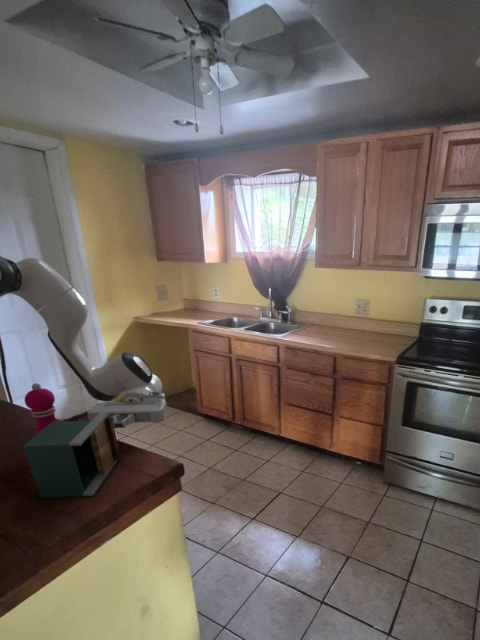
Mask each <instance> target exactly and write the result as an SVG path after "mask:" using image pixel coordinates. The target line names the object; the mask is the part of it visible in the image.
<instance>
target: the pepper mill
mask: <svg viewBox="0 0 480 640" xmlns="http://www.w3.org/2000/svg"><path fill="white" fill-rule="evenodd" d="M55 401H56V398H55V395H54V393H53V392H52V390H49V389H48V388H42V386H41V384H39V382H35V383H32V385H31V390H29V391H28V392H27V393H26V394H25V396H24V404H25V405H26V407H27V408H28V409H30V413H31V417H33V418H34V419H35V421H36V432H35V435H34V437H35V436H36V435H37V434H38V433H39V432H41V431H42V430H43V429H44V428H45V427H47V426H48V425H49V424H50V423H51V422H58V421H57V418H56V411H57V410H56V407H55V405H54V404H55Z"/></svg>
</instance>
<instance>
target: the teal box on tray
mask: <svg viewBox="0 0 480 640" xmlns="http://www.w3.org/2000/svg"><path fill="white" fill-rule="evenodd" d="M108 415H109V412H102V413H99V414H98V415H97V416H96V417H95V418H94V419H93V420H92V421H89V420H65V421H63V420H62V421H57V422H51V423H50V424H49V425H48V426H47V427H45V428H44V429H43V430H42V431H41V432H39V433H38V434H37V435H36V434H35V435H36V436H35V435H34V436H33V437H32V438H31V439H29V440H28V441H27V442H26V443H25V444H24V445H23V446H22V447H23V449H24V452H25V454H26V455H25V457H26V459H27V461H28V465H29V468H30V470H31V474H32V478H33V479H34V482H35V485H36V489H37V491H38V494H39V498H40V499H44V498H45V499H46V498H47V499H48V498H70V497H72V498H73V497H74V498H75V497H94V495H95V494H96V493H97V491H98V490H99V488H100V487H101V486H102V483H104V481H105V480H106V478H107V477H108V475H110V472H111V471H112V470H113V468H114V467H115V465H116V464H117V463H118V462H119V459H118V460H113V462H112V463H111V464H110V466H109V467H108V469H107V470H106V471H105V473H99V472H98V468H97V464H96V460H95V456H94V452H93V448H92V444H91V440H90V435H91V434H92V433H93V431H94V430H95V429H96V428H97V427H98V426H99V425H100V424H101V423H102V422H103V421H104V420H105V418H106V417H107V416H108Z"/></svg>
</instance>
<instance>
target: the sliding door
mask: <svg viewBox="0 0 480 640" xmlns="http://www.w3.org/2000/svg"><path fill="white" fill-rule="evenodd" d="M117 439H118V438H117V435H116V429H115V428H114V425H113V420H112V417H106V418H105V420H104V421H103V422H102V423H101V424H100V425H99V426H98V427H97V428H96V429H95V430H94V431H93V433H92V434H91V435H90V440H91V444H92V448H93V452H94V456H95V460H96V464H97V468H98V472H99V473H105V471H106V470H107V469H108V467H109V466H110V464H111V463H112V462H113V460H118V461H119V460H120V458H121V453H120V449H119V445H118V440H117Z"/></svg>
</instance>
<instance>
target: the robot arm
mask: <svg viewBox="0 0 480 640" xmlns="http://www.w3.org/2000/svg"><path fill="white" fill-rule="evenodd" d="M7 295H14V296H17V297H20V298H21V299H23V300H24V301H25V302H26V303H28V304H29V306H30V307H31V308H33V309H34V310H35V311H36V312H37V314H39V315H40V316H41V318H42V319H43V321H44V322H45V324H46V327H47V329H48V330H47V338H48V340H49V342H50V343H51V345H52V346H53V348H55V350H56V351H57V353H58V355H60V356H61V358H62V359H63V360H64V362H65V363H66V364H67V365H68V366H69V368H70V369H71V371H73V373H74V374H75V375H76V377H77V378H78V379H79V380H80V382H81V383H82V385H83V387H84V388H85V390H86V392H87V393H88V394H89V395H90V397H91V398H93V399H95V400H97V401H101V402H99V403H97V404H95V405H94V406H92V407H90V408H89V409H88V410H87V412H86V413H87V420H88V421H92V420H93V419H94V418H95V417H96V416H97V415H98V414H99V413H102V412H109V415H108V416H107V417H112V420H113V425H114V429H126V428H127V426H129V425H132V424H137V423H161V422H164V421H165V420H166V418H167V416H168V405H167V400H166V396H165V393H163V382H162V381H161V379H160V378H159V377H158V376H157V375H155V374H154V373H153V372H152V369H151V368H150V366H149V364H148V363H147V362H146V361H145V359H144V358H142V357H141V356H140V355H137V354H135V353H132V352H127V351H126V352H125V351H124V352H122V353H121V354H119V355H117V356H116V357H114V358H113V359H111V360H110V361H109V362H107V363H106V364H103V365H102V366H100V367H99V368H98V367H95V366H94V365H93V364H92V363H91V361H90V359H88V357H87V356H86V355H85V353H84V352H83V350H81V348H80V346H79V345H78V336H79V334H80V331H81V330H82V328H83V327H84V325H85V323H86V321H87V318H88V305H87V302H86V301H85V300H84V298H83V297H82V296H81V294H80V293H79V292H78V291H77V290H76V289H75V288H74V287H73V286H72V284H70V283H69V282H68V281H67V280H66V279H65V278H64V277H63V276H62V275H61V274H60V273H59V272H58V271H57V270H56V269H54V268H53V267H52V266H50V265H49V264H48V263H46V262H45V261H44V260H42V259H40V258H36V257H27V258H24V259H22V260H21V259H20V260H19V261H17V262H16V261H13V260H11V259H8V258H6V257H3V256H1V255H0V299H1V298H3V297H4V296H7ZM122 393H123V394H122ZM121 394H122V395H121ZM120 395H121V396H120ZM118 396H120V397H119V400H118V401H113V400H114V399H116V398H117V397H118Z"/></svg>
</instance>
